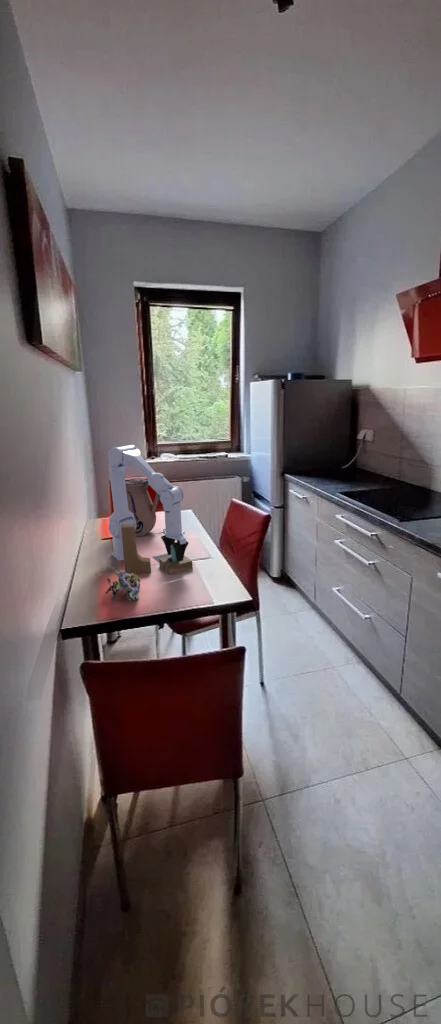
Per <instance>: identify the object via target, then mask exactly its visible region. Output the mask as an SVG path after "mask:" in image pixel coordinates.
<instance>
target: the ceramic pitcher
mask: <svg viewBox="0 0 441 1024" xmlns="http://www.w3.org/2000/svg"><path fill="white" fill-rule="evenodd" d="M125 484H126V493H127V501H128V510H129V511H130V512H132V513H133V514H134V519H135V521H136V529H135V536H136V537H142V536H145V535H148V534H149V533H150V532H151V531H152V530H153V529H154V528H155V526H156V523H157V513H156V510H157V507H158V505H159V501H160V496H159V495H158V493H157V492H156V491H155V498H154V500H153V501H152V497H151V496H150V493H149V491H148V487H149V486H150V485H149V484H148V479H147V478H141V477H135V478H131V479H129V480H126V479H125Z"/></svg>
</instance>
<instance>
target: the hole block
mask: <svg viewBox="0 0 441 1024" xmlns="http://www.w3.org/2000/svg"><path fill="white" fill-rule="evenodd" d="M158 565H159V568H160V569H162V570H163V571H165V573H167V574H168V575H175V574H179V573H182V572H186V571H190V570H191V571H192V570H193V569H194V568H193V560H192V559H190V558H188V557H187V556H185V555H184V558H183V560H182V561H179V562H175V563H172V559H171V556H168V557H164V558H160V559H159V562H158Z"/></svg>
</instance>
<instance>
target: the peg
mask: <svg viewBox="0 0 441 1024" xmlns="http://www.w3.org/2000/svg"><path fill="white" fill-rule="evenodd" d="M171 559H172V563H175V562H179V561H177V559H176V554H175V550H174V547H173V545H171Z"/></svg>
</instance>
